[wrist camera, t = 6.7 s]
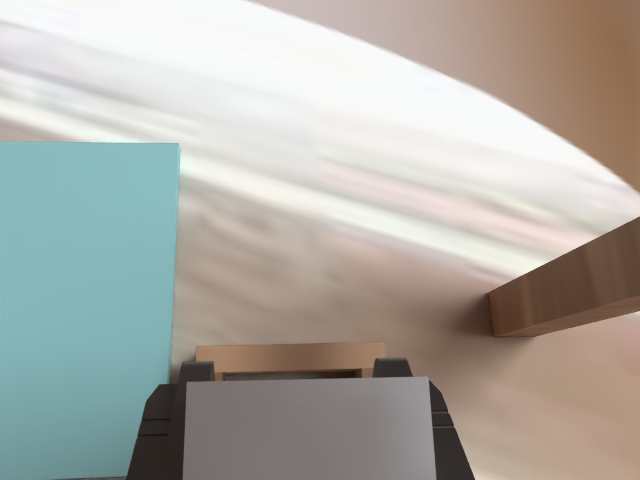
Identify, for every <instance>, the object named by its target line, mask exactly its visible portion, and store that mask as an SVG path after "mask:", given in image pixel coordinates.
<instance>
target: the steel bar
mask: <svg viewBox="0 0 640 480" xmlns="http://www.w3.org/2000/svg"><path fill="white" fill-rule="evenodd" d="M183 480H436V468H435V455H434V442H433V430H432V417H431V404H430V391H429V378H428V377H386V378H341V379H295V380H250V381H204V382H187V391H186V414H185V438H184V461H183Z"/></svg>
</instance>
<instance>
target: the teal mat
mask: <svg viewBox="0 0 640 480" xmlns="http://www.w3.org/2000/svg"><path fill="white" fill-rule="evenodd" d="M179 169H180V147H179V144H178V143H90V142H0V480H53V479H76V478H99V477H122V476H127V473H128V469H129V465H130V462H131V458H132V454H133V450H134V446H135V442H136V439H137V434H138V430H139V427H140V423H141V419H142V415H143V411H144V407H145V403H146V400H147V399H148V398H149V396H150V395H151V394H152V393H153V391H154V390H155V389H156V388H157V387H158V385H159V384H170V369H171V346H172V324H173V302H174V280H175V258H176V235H177V213H178V191H179Z"/></svg>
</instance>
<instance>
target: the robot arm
mask: <svg viewBox="0 0 640 480" xmlns="http://www.w3.org/2000/svg"><path fill="white" fill-rule="evenodd" d="M386 377H413V376H412V373H411V370H410V367H409V364H408V361H407V359H406V358H405V357H399V358H376V359H375V361H374V368H373V375H372V378H386ZM204 381H215V372H214V362H213V361H188V362H183V363H182V366H181V370H180V376H179V381H178V384H159V385H158V387H157V388H156V389H155V390H154V391H153V393H152V394H151V395H150V396H149V398H148V399H147V400H146V403H145V407H144V411H143V415H142V419H141V423H140V427H139V430H138V434H137V439H136V442H135V446H134V450H133V454H132V458H131V462H130V465H129V469H128V473H127V477H126V480H183V461H184V438H185V414H186V391H187V382H204ZM429 391H430V404H431V417H432V430H433V442H434V455H435V468H436V480H475V478H474V475H473V473H472V470H471V468H470V465H469V463H468V460H467V457H466V455H465V452H464V450H463V447H462V445H461V442H460V440H459V437H458V434H457V432H456V429H455V428H454V424H453V422H452V419H451V416H450V414H448V409H447V406H446V404H445V401H444V398H443V396H442V393H441V392H440V391H439V390H438V389H437V388H436V387H435V386H434V385H433V384H432V382H431V381H430V380H429Z"/></svg>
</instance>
